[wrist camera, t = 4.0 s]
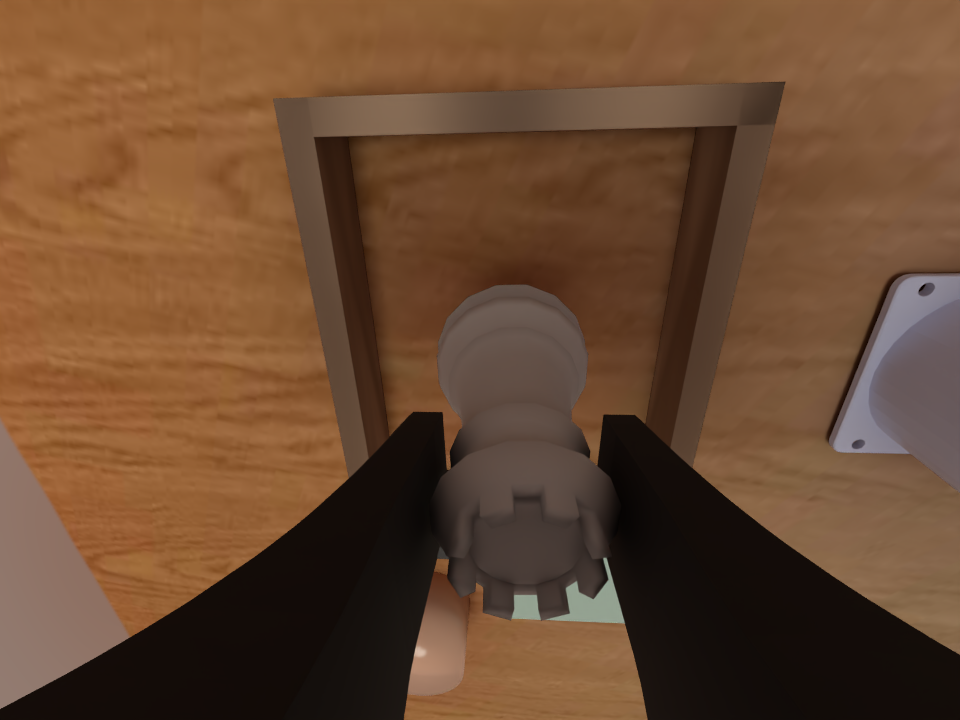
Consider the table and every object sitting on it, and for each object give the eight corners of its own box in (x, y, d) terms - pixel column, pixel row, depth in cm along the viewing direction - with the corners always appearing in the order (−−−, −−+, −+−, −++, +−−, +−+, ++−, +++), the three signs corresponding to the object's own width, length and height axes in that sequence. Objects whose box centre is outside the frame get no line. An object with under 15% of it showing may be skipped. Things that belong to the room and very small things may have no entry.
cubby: (734, 92, 14) (785, 81, 12) (664, 441, 21) (687, 487, 18) (314, 104, 15) (273, 98, 13) (369, 436, 22) (349, 479, 19)
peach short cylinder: (468, 571, 26) (461, 641, 22) (471, 626, 28) (465, 697, 24) (383, 568, 26) (362, 637, 22) (392, 622, 28) (375, 692, 25)
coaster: (684, 499, 22) (688, 508, 22) (656, 614, 26) (659, 624, 26) (503, 494, 23) (502, 503, 22) (503, 608, 27) (503, 618, 26)
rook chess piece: (527, 430, 15) (557, 687, 8) (413, 367, 14) (332, 592, 7) (612, 329, 14) (746, 539, 6) (489, 249, 13) (482, 389, 5)
